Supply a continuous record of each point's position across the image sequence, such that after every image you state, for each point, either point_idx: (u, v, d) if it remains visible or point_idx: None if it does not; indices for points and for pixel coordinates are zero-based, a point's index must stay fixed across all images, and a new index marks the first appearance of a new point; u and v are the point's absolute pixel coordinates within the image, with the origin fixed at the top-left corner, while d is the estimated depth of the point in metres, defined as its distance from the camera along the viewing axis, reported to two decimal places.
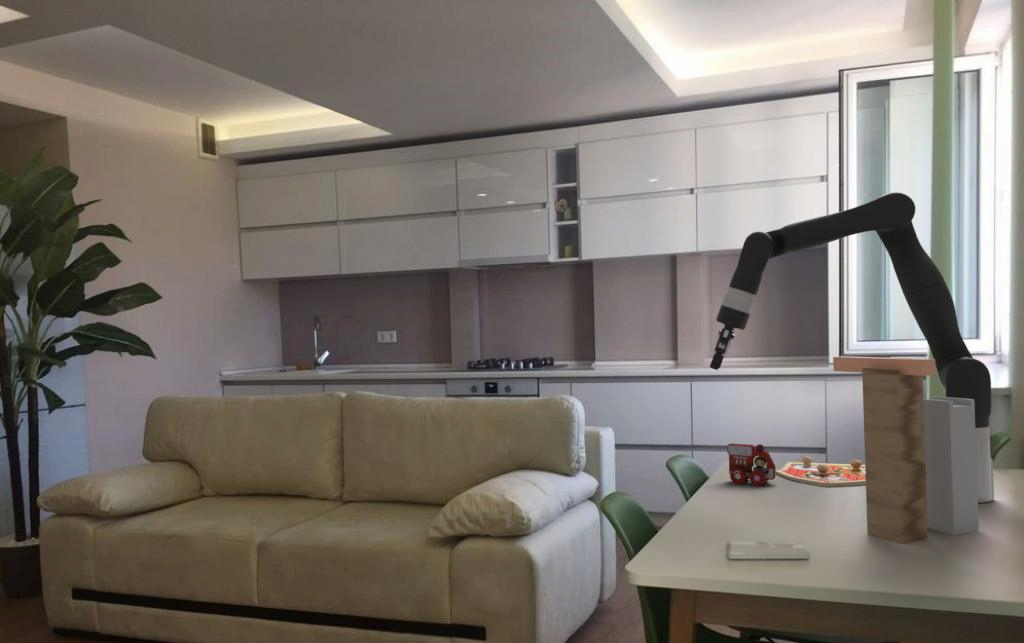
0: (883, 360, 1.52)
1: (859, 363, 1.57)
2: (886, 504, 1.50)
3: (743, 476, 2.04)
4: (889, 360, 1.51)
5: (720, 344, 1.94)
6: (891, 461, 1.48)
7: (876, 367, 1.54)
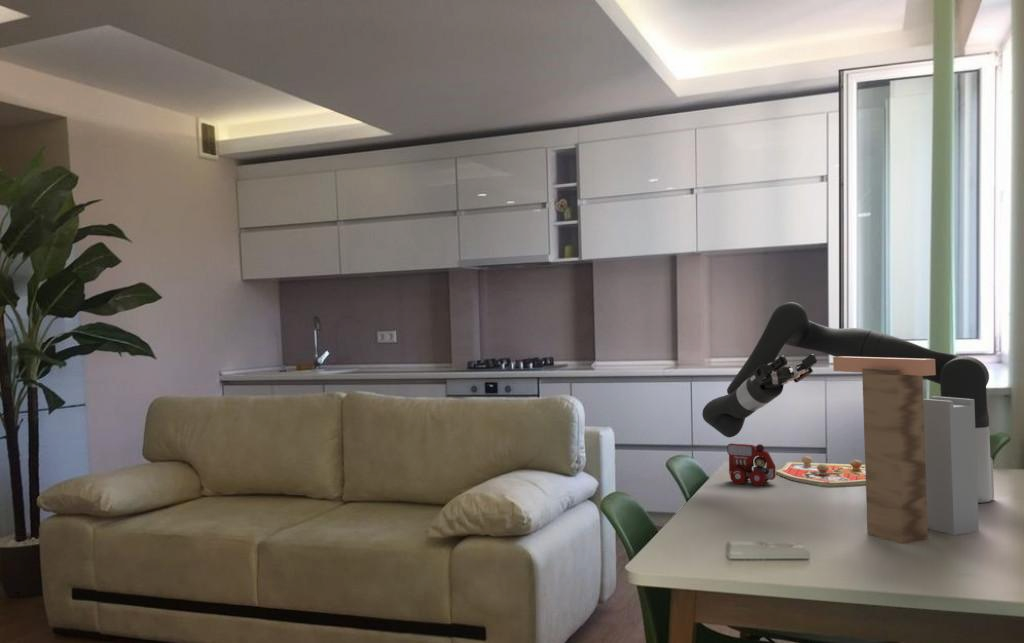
0: (883, 360, 1.52)
1: (859, 363, 1.57)
2: (886, 504, 1.50)
3: (743, 476, 2.04)
4: (889, 360, 1.51)
5: (770, 373, 1.78)
6: (891, 461, 1.48)
7: (876, 367, 1.54)
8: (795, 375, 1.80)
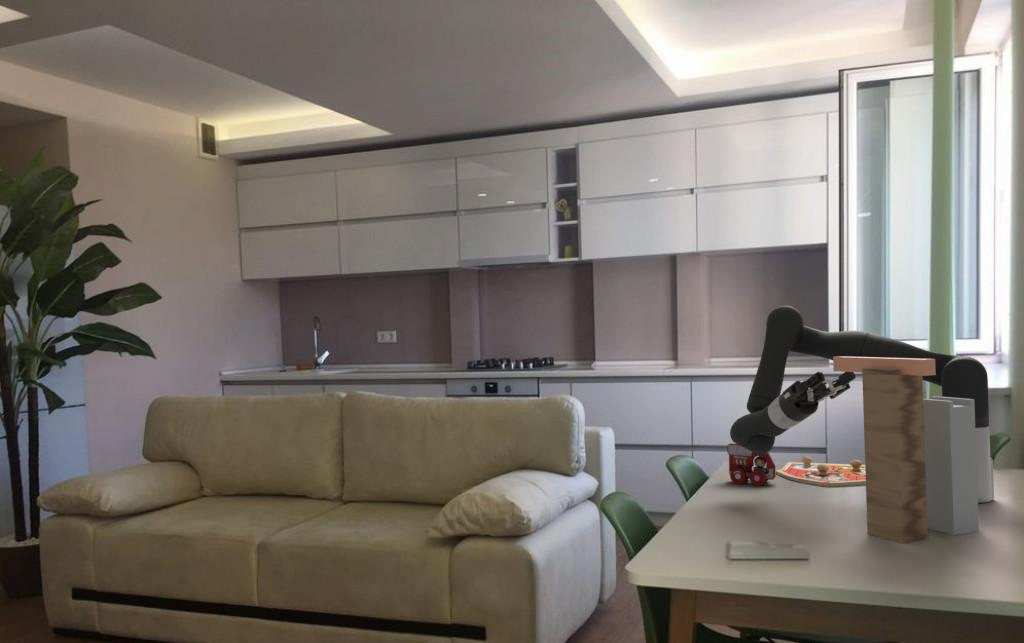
0: (883, 360, 1.52)
1: (859, 363, 1.57)
2: (886, 504, 1.50)
3: (743, 476, 2.04)
4: (889, 360, 1.51)
5: (806, 390, 1.68)
6: (891, 461, 1.48)
7: (876, 367, 1.54)
8: (832, 392, 1.70)
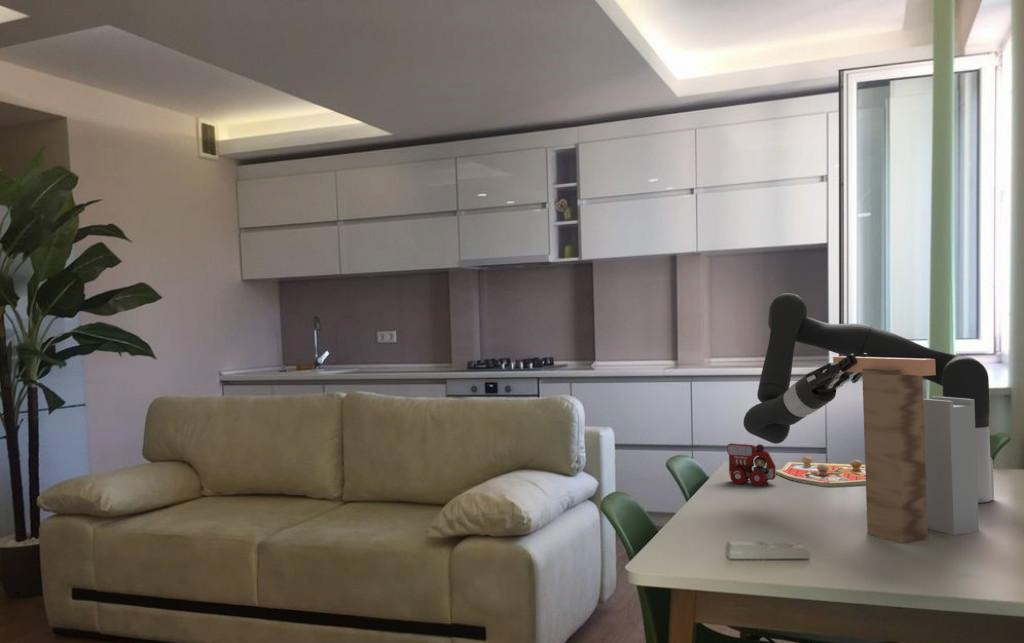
0: (883, 360, 1.52)
1: (859, 363, 1.57)
2: (886, 504, 1.50)
3: (743, 476, 2.04)
4: (889, 360, 1.51)
5: None
6: (891, 461, 1.48)
7: (876, 367, 1.54)
8: (846, 378, 1.64)
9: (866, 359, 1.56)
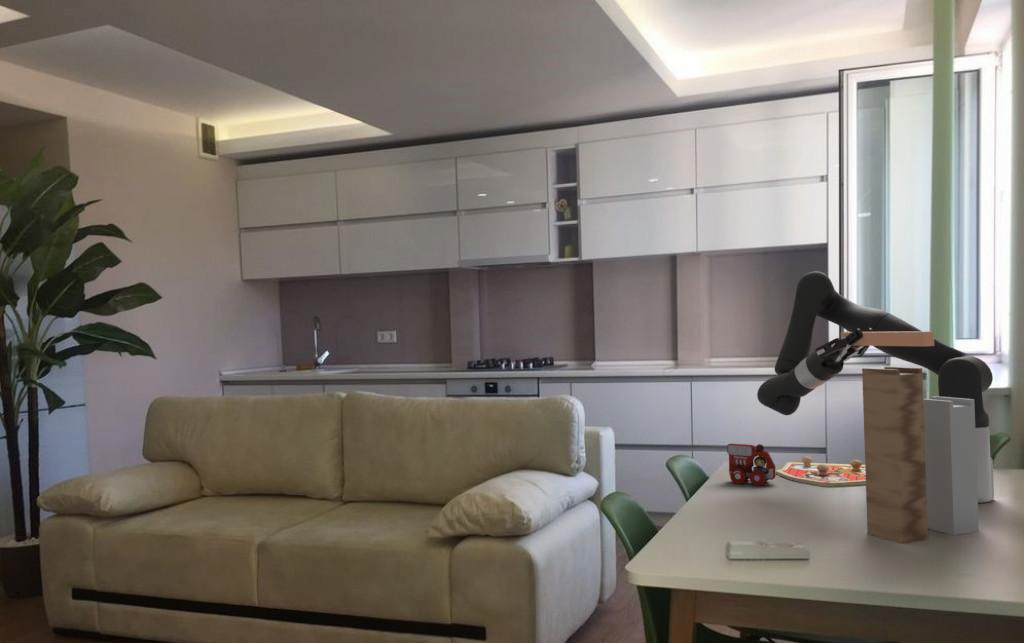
0: (886, 333, 1.67)
1: (865, 337, 1.73)
2: (886, 504, 1.50)
3: (743, 476, 2.04)
4: (892, 334, 1.66)
5: None
6: (891, 461, 1.48)
7: (880, 340, 1.69)
8: (853, 351, 1.79)
9: (871, 333, 1.71)
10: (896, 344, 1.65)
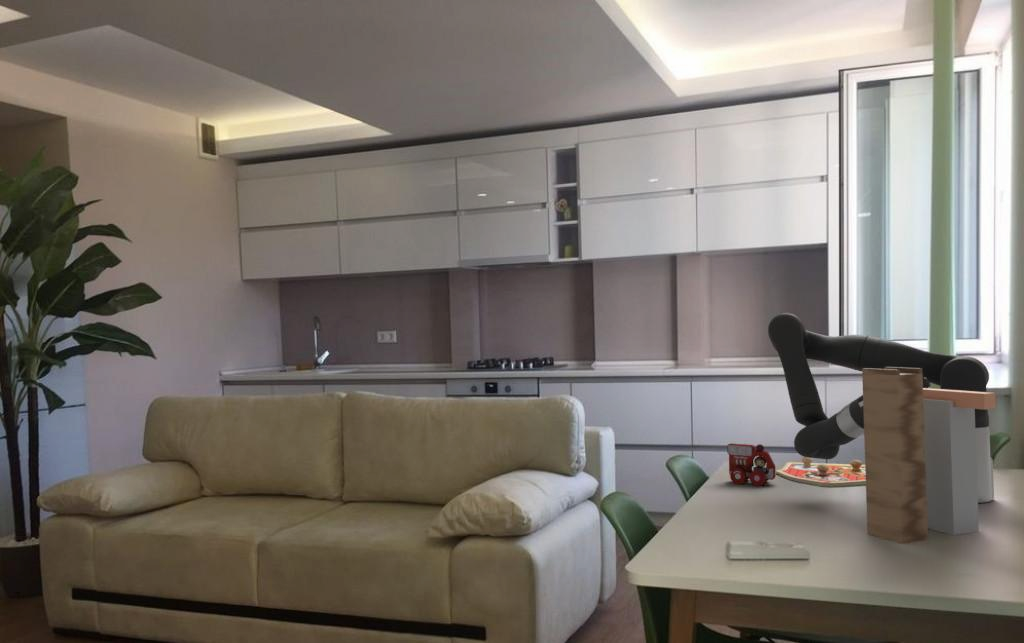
0: (941, 392, 1.55)
1: None
2: (886, 504, 1.50)
3: (743, 476, 2.04)
4: (948, 393, 1.54)
5: None
6: (891, 461, 1.48)
7: (934, 399, 1.57)
8: None
9: (923, 390, 1.59)
10: None
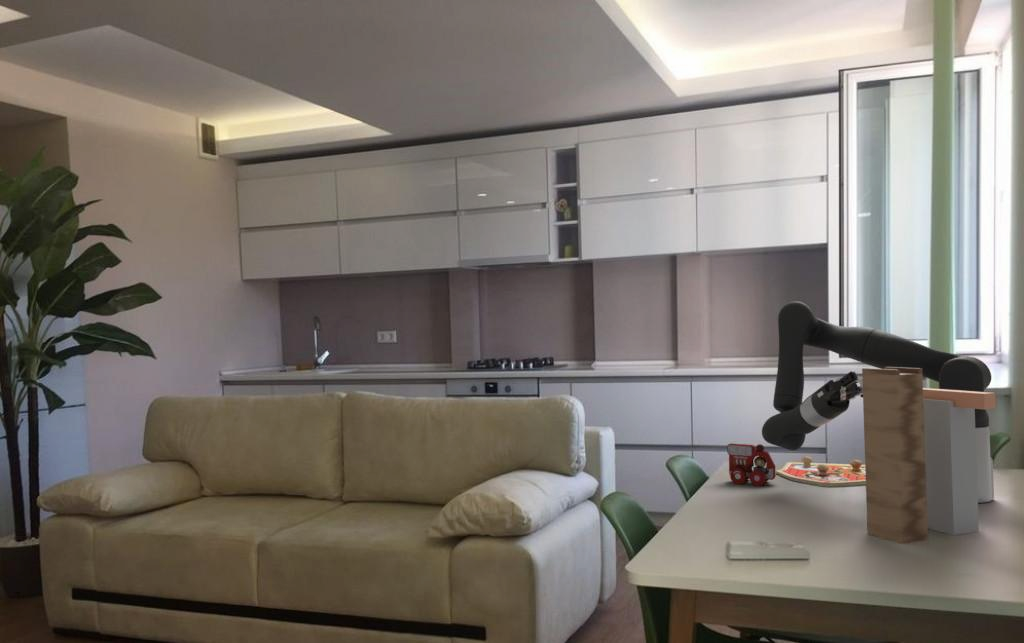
0: (941, 392, 1.55)
1: None
2: (886, 504, 1.50)
3: (743, 476, 2.04)
4: (948, 393, 1.54)
5: (838, 389, 1.76)
6: (891, 461, 1.48)
7: (934, 399, 1.57)
8: None
9: (923, 390, 1.59)
10: None
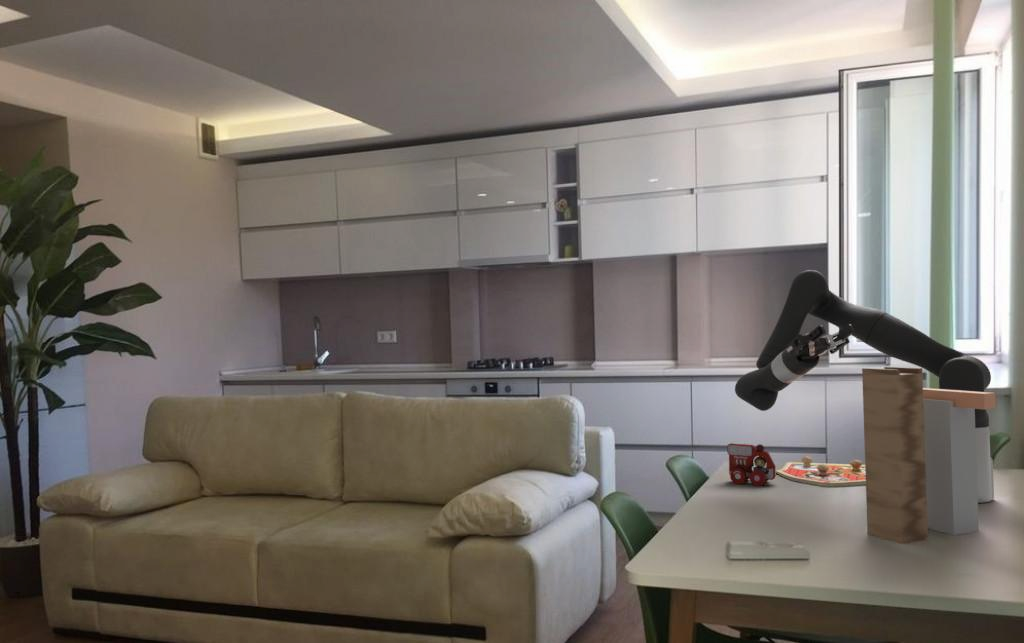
0: (941, 392, 1.55)
1: None
2: (886, 504, 1.50)
3: (743, 476, 2.04)
4: (948, 393, 1.54)
5: (807, 344, 1.78)
6: (891, 461, 1.48)
7: (934, 399, 1.57)
8: (832, 346, 1.80)
9: (923, 390, 1.59)
10: None
